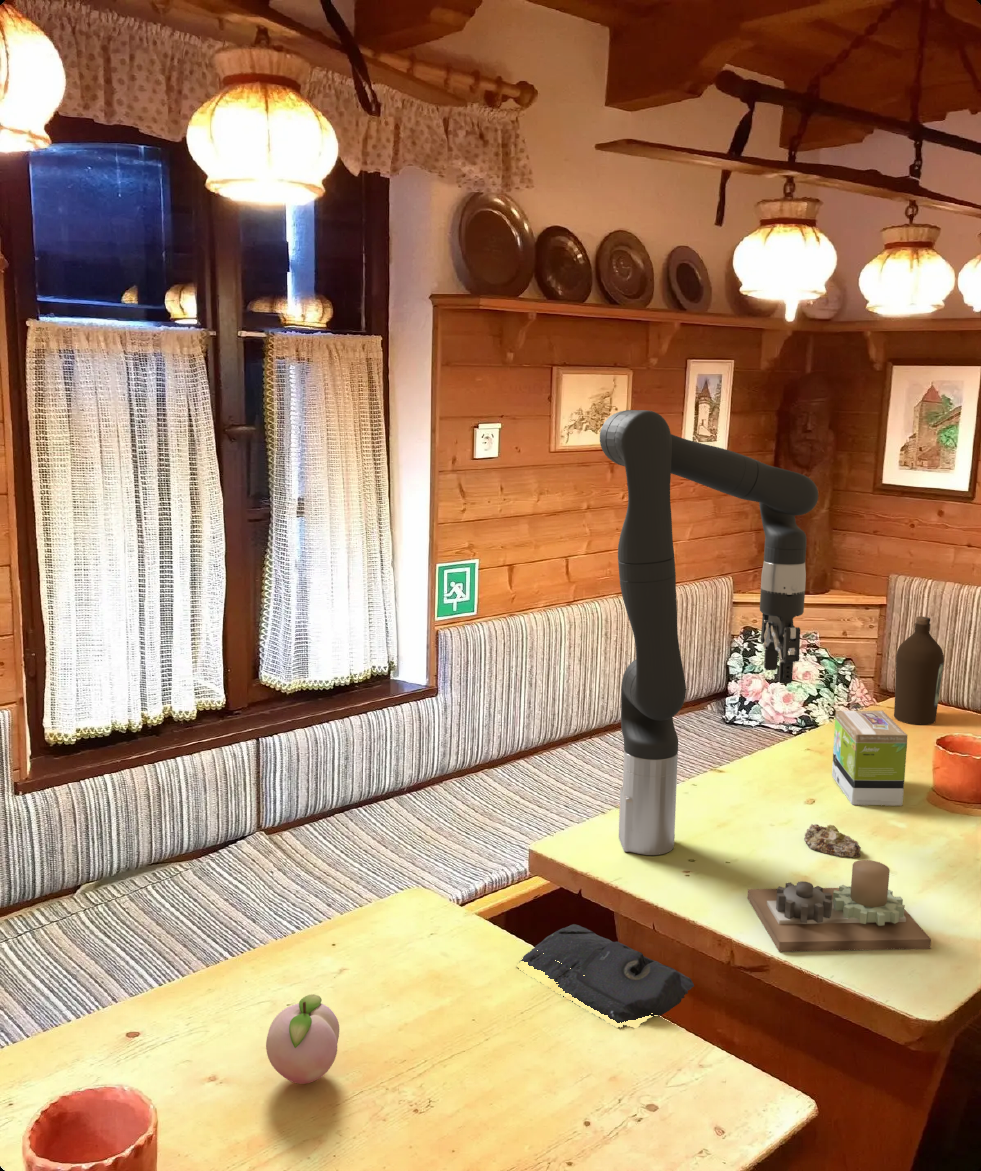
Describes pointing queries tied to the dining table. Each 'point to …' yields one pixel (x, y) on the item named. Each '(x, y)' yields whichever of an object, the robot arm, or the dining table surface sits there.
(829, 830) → the mineral rock
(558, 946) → the dark slate chunk
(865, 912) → the planet gear
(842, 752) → the tea box
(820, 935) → the carrier board
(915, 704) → the olive oil
